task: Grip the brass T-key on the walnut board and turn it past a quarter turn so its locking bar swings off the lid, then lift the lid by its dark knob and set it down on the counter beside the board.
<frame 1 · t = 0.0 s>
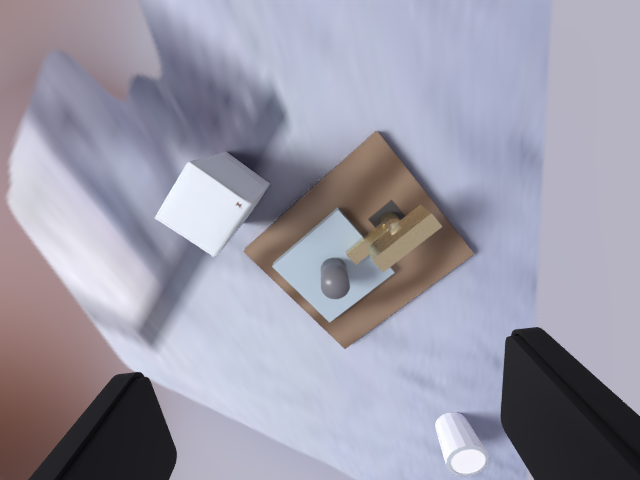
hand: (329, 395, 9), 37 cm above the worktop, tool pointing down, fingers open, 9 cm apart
board: (358, 249, 47), on the worktop
key: (387, 238, 40), point 6 cm above the worktop, hinge at 0.0°
supplement box: (234, 188, 44), on the worktop
shot glass: (450, 423, 58), on the worktop
lid: (333, 265, 46), point 1 cm above the worktop, touching board
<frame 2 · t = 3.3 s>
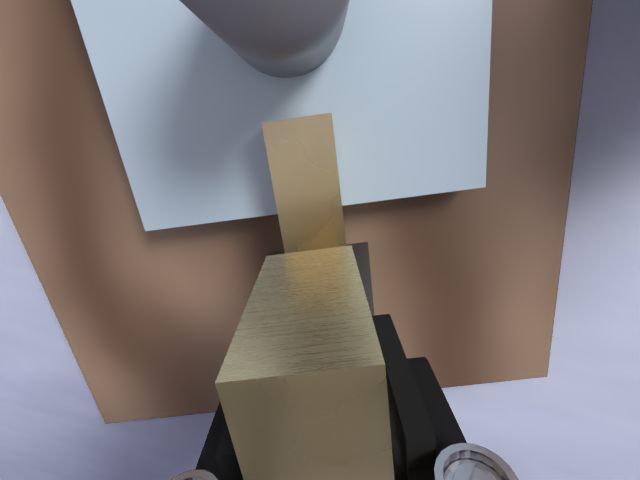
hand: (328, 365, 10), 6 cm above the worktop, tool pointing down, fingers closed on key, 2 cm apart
board: (283, 149, 14), on the worktop
key: (322, 326, 9), point 6 cm above the worktop, hinge at 0.0°, touching gripper
lid: (287, 24, 11), point 1 cm above the worktop, touching board
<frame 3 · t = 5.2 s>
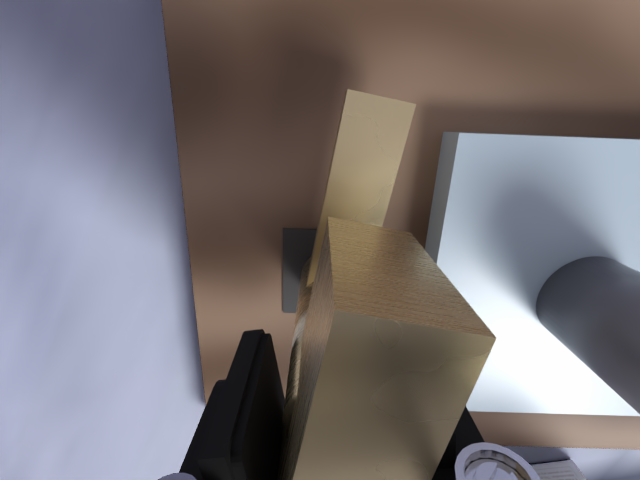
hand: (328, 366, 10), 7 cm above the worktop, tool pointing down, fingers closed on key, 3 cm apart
board: (456, 244, 15), on the worktop
key: (344, 302, 9), point 6 cm above the worktop, hinge at 80.8°, touching gripper
lid: (556, 280, 14), point 1 cm above the worktop, touching board
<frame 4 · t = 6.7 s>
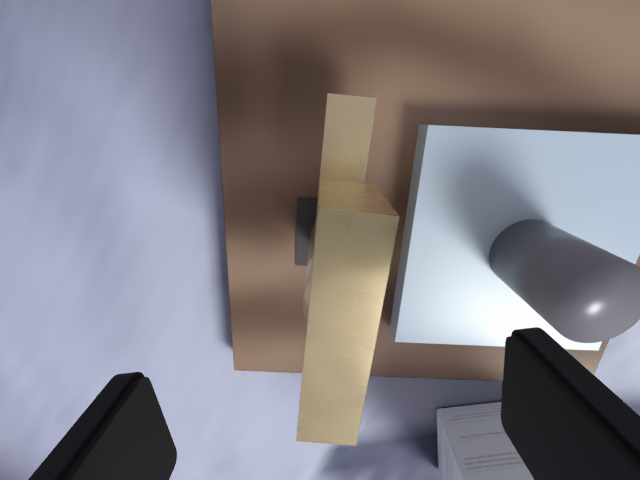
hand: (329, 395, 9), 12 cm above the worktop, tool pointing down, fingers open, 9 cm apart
board: (432, 214, 19), on the worktop
key: (338, 240, 13), point 6 cm above the worktop, hinge at 87.1°
supplement box: (481, 433, 26), on the worktop
lid: (508, 241, 18), point 1 cm above the worktop, touching board
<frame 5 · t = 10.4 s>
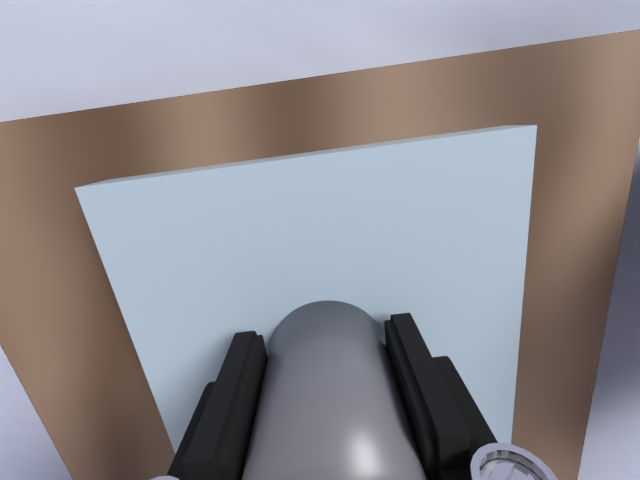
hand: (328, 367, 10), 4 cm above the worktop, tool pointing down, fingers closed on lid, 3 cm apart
board: (314, 383, 14), on the worktop
lid: (326, 323, 12), point 1 cm above the worktop, touching board, gripper
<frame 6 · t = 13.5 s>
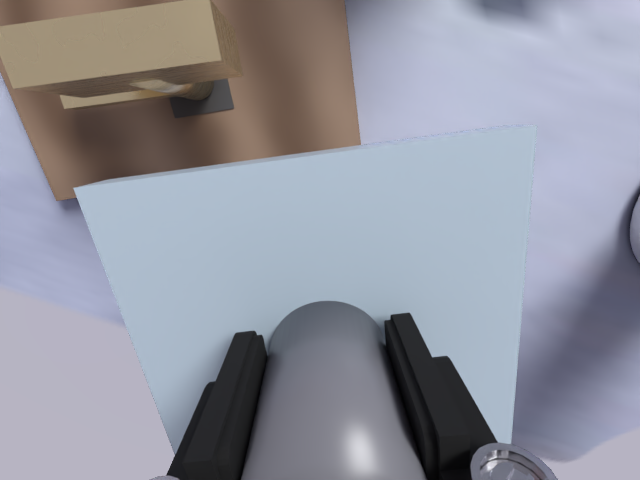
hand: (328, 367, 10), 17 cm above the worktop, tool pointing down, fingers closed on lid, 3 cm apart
key: (133, 70, 16), point 6 cm above the worktop, hinge at 88.0°
lid: (326, 323, 12), point 15 cm above the worktop, touching gripper
when the fingers open (4 cm above the worktop, at t = 16.7 s): lid drops 2 cm, on the worktop.
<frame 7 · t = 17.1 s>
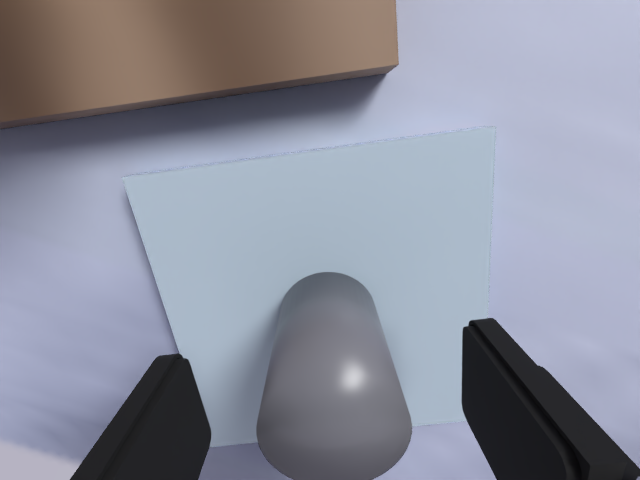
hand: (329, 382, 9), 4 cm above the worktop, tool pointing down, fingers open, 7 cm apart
lid: (326, 295, 14), on the worktop
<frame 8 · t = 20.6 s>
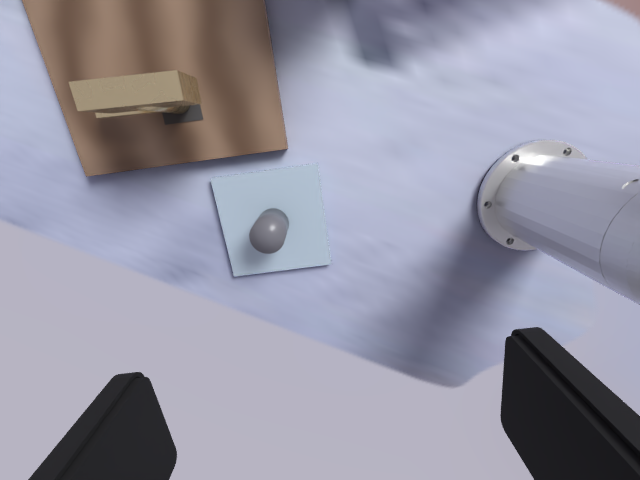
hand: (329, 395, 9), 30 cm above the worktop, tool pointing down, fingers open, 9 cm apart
board: (159, 38, 32), on the worktop
key: (139, 98, 28), point 6 cm above the worktop, hinge at 88.0°
lid: (275, 220, 39), on the worktop
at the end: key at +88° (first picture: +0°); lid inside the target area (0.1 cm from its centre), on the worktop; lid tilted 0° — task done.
